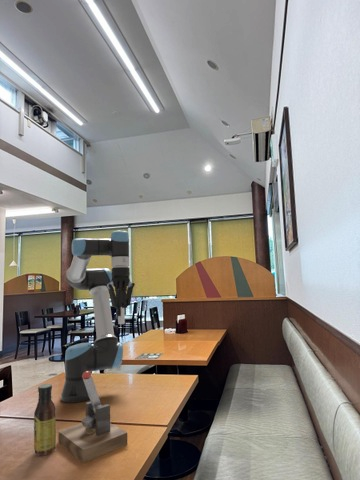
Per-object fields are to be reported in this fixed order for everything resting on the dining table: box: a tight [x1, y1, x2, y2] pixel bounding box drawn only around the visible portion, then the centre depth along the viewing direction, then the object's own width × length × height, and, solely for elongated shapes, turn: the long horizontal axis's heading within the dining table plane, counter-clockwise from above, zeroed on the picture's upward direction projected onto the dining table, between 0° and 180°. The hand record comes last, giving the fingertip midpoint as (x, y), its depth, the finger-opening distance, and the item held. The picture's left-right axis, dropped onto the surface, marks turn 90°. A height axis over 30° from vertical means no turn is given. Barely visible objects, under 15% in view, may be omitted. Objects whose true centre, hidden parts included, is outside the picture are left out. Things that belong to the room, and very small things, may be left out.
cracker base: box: [57, 401, 129, 464], centre depth 107 cm, size 18×15×12 cm
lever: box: [80, 371, 103, 430], centre depth 107 cm, size 4×7×16 cm, turn 133°
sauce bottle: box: [33, 383, 57, 457], centre depth 103 cm, size 7×6×20 cm
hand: (121, 323), depth 137 cm, fingers closed
